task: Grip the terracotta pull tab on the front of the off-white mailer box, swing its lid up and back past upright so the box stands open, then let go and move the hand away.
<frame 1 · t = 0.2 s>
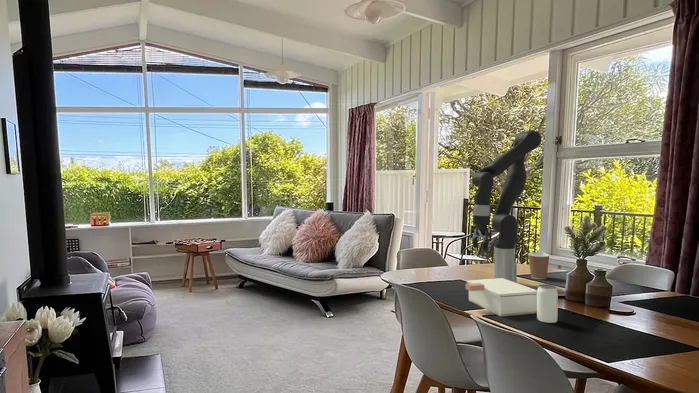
hand: (480, 249, 196), 17 cm above the table, tool pointing down, fingers open, 8 cm apart
can: (547, 321, 146), on the table
coffee cup: (538, 278, 213), on the table
mailer lid: (494, 285, 162), point 8 cm above the table, hinge at 0.0°
mailer box: (501, 306, 163), on the table
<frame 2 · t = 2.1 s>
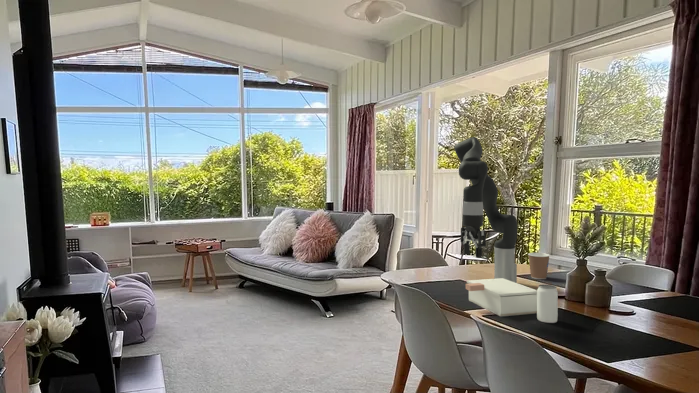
hand: (472, 256, 160), 20 cm above the table, tool pointing down, fingers open, 8 cm apart
nothing on the table moved.
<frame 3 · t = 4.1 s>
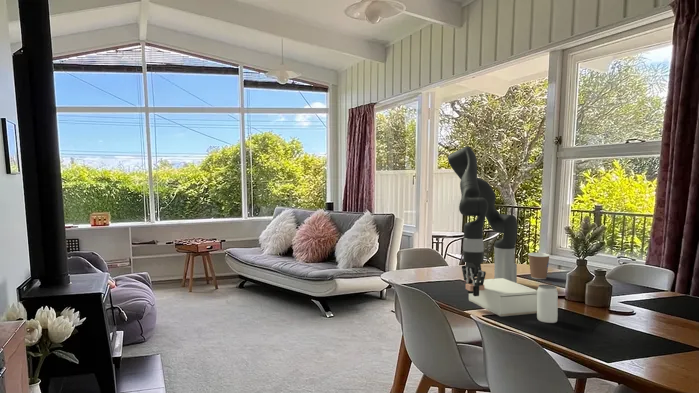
hand: (473, 294, 160), 6 cm above the table, tool pointing down, fingers closed on mailer lid, 3 cm apart
mailer lid: (494, 285, 162), point 8 cm above the table, hinge at 0.0°, touching gripper
everything else where it was.
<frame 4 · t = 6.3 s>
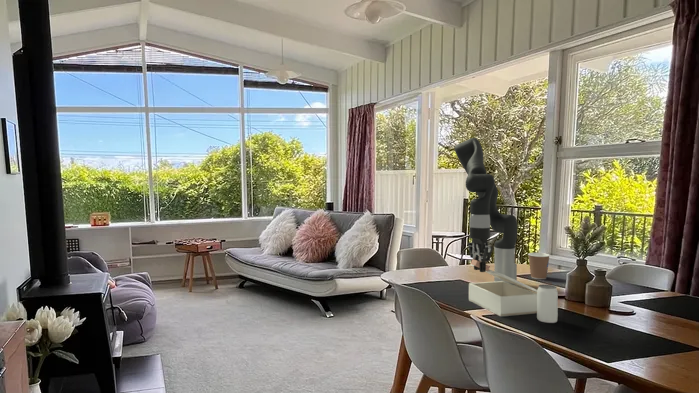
hand: (479, 270, 160), 15 cm above the table, tool pointing down, fingers closed on mailer lid, 3 cm apart
mailer lid: (497, 273, 162), point 13 cm above the table, hinge at 24.9°, touching gripper
everything else where it was.
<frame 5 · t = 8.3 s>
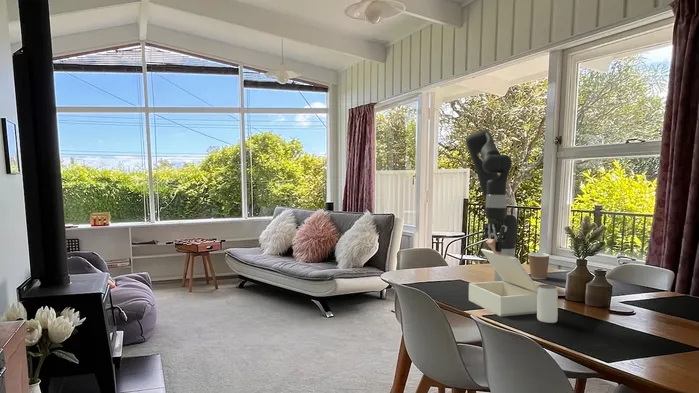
hand: (495, 250, 162), 22 cm above the table, tool pointing down, fingers closed on mailer lid, 3 cm apart
mailer lid: (505, 262, 163), point 17 cm above the table, hinge at 51.7°, touching gripper
everything else where it was.
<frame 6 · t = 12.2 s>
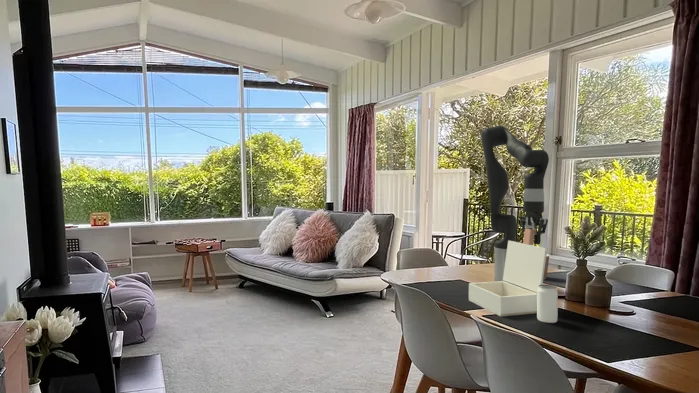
hand: (533, 243, 166), 24 cm above the table, tool pointing down, fingers open, 4 cm apart
mailer lid: (525, 257, 165), point 19 cm above the table, hinge at 98.9°
everything else where it was.
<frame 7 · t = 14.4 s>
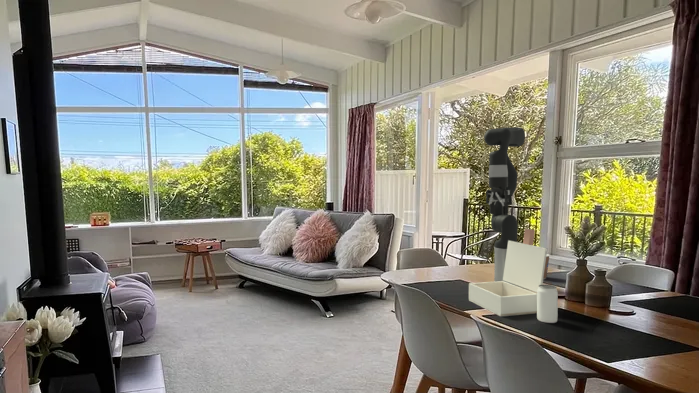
hand: (498, 214, 176), 35 cm above the table, tool pointing down, fingers open, 8 cm apart
nothing on the table moved.
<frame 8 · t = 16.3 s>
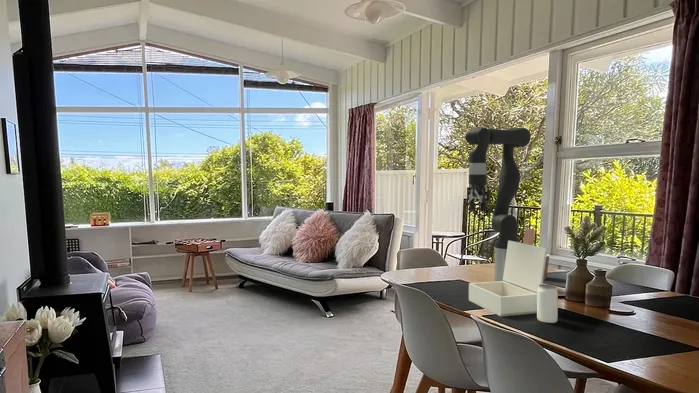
hand: (477, 210, 183), 36 cm above the table, tool pointing down, fingers open, 8 cm apart
nothing on the table moved.
at the end: mailer lid at +99° (first picture: +0°); the gripper is holding nothing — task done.
